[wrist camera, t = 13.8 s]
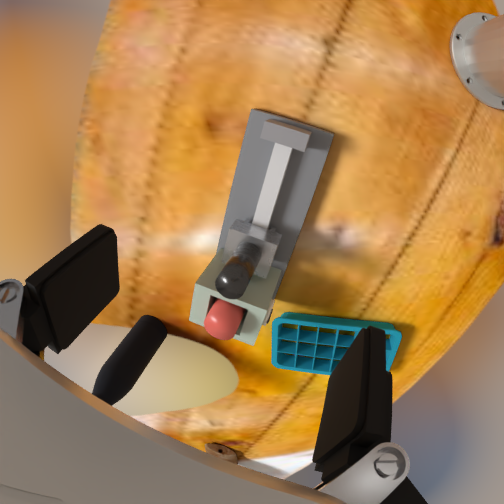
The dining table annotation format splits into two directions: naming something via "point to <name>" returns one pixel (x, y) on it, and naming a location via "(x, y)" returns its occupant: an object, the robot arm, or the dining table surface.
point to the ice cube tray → (321, 342)
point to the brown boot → (221, 452)
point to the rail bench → (290, 189)
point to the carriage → (246, 257)
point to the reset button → (223, 319)
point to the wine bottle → (129, 360)
